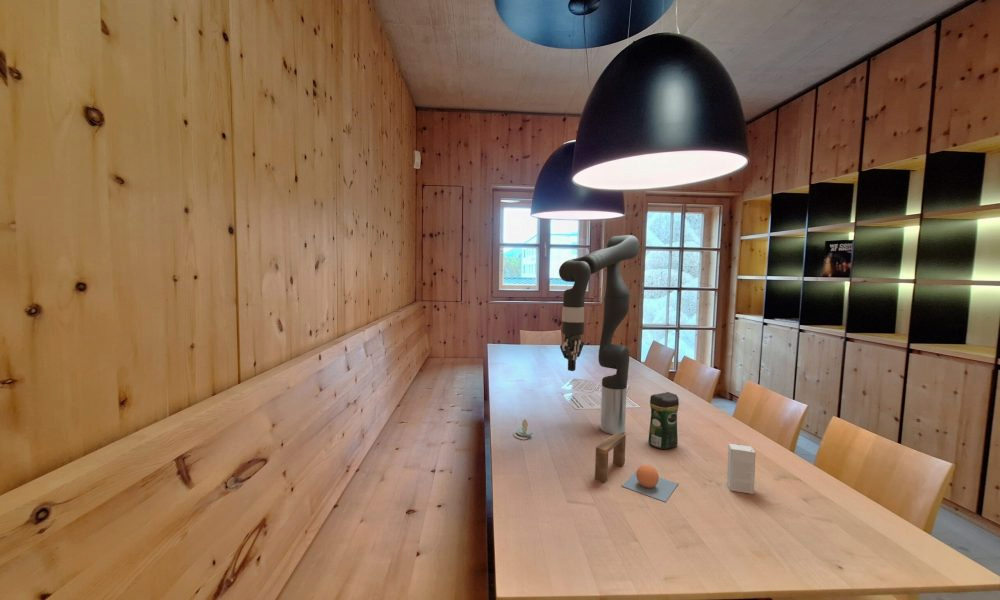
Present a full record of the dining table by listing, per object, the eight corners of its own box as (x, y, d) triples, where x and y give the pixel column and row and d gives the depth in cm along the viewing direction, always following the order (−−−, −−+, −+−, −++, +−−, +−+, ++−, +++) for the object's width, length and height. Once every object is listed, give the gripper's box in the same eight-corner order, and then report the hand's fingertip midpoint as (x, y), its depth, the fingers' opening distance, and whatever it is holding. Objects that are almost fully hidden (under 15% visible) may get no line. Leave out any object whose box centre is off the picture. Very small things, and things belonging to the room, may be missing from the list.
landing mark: (636, 470, 122) (637, 470, 122) (678, 484, 115) (678, 483, 115) (621, 486, 113) (621, 485, 113) (665, 502, 105) (665, 501, 105)
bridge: (594, 479, 116) (595, 447, 116) (615, 461, 128) (616, 432, 127) (604, 483, 114) (605, 450, 114) (624, 464, 126) (625, 434, 125)
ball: (639, 460, 117) (659, 462, 113) (643, 480, 117) (664, 483, 113) (630, 469, 113) (651, 471, 109) (635, 489, 113) (655, 493, 109)
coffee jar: (662, 438, 147) (664, 388, 146) (681, 446, 140) (683, 394, 139) (643, 442, 143) (646, 392, 142) (662, 451, 136) (664, 398, 135)
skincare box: (749, 487, 114) (752, 446, 113) (753, 494, 110) (756, 452, 109) (725, 483, 116) (728, 443, 115) (729, 490, 112) (731, 449, 111)
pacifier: (522, 442, 142) (535, 438, 146) (522, 425, 141) (535, 421, 145) (510, 435, 148) (522, 431, 151) (510, 419, 147) (522, 415, 151)
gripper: (573, 322, 128) (571, 376, 129) (592, 319, 138) (590, 369, 139) (553, 320, 132) (551, 372, 133) (572, 317, 143) (571, 365, 144)
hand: (571, 370), depth 136 cm, fingers closed
